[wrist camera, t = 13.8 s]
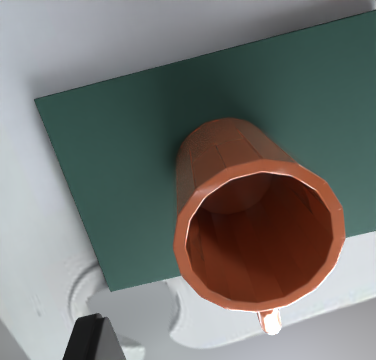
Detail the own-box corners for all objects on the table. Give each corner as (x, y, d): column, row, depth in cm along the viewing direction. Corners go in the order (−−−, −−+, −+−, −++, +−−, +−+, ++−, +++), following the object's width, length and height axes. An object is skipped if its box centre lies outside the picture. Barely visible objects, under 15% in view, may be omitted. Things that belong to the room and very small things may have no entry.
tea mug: (162, 132, 20) (153, 185, 12) (269, 105, 20) (337, 140, 12) (198, 263, 24) (211, 377, 15) (290, 241, 23) (356, 346, 15)
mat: (111, 287, 25) (110, 292, 24) (36, 98, 20) (33, 99, 20) (383, 225, 24) (388, 228, 23) (373, 10, 19) (378, 9, 19)
